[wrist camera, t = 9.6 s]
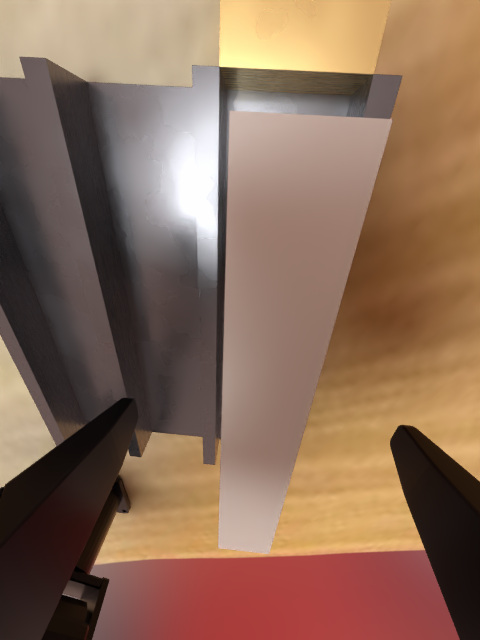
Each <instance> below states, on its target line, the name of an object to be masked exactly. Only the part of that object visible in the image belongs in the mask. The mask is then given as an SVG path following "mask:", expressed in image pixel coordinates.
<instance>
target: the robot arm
mask: <svg viewBox="0 0 480 640" xmlns="http://www.w3.org/2000/svg"><path fill="white" fill-rule="evenodd" d="M138 417H139V414H138V409H137V404H136V400H135V399H134V398H121V399H120V400H118V401H117V402H116V403H114V404H113V405H112V406H110V407H109V408H108V409H106V410H105V411H104V412H102V413H101V414H99V415H98V416H97V417H95V418H94V419H93V420H91V421H90V422H89V423H87V424H86V425H85V426H83V427H82V428H81V429H79V430H78V431H77V432H75V433H74V434H73V435H71V436H70V437H69V438H67V439H66V440H64V441H63V442H62V443H60V444H59V445H58V446H56V447H55V448H54V449H52V450H51V451H50V452H48V453H47V454H46V455H44V456H43V457H42V458H40V459H39V460H38V461H36V462H35V463H34V464H32V465H31V466H30V467H28V468H27V469H25V470H24V471H23V472H21V473H20V474H19V475H17V476H16V477H15V478H13V479H12V480H11V481H9V482H8V483H7V484H5V486H4V487H1V488H0V640H92V637H93V634H94V631H95V627H96V624H97V620H98V617H99V613H100V610H101V607H102V603H103V600H104V596H105V593H106V589H107V586H108V583H109V579H107V578H104V577H103V578H99V577H96V576H93V575H90V572H91V569H92V567H93V565H94V563H95V560H96V558H97V556H98V554H99V551H100V549H101V547H102V544H103V542H104V540H105V537H106V535H107V533H108V531H109V528H110V526H111V524H112V521H113V519H114V517H115V515H116V512H119V513H128V512H129V510H130V504H129V501H128V498H127V495H126V492H125V489H124V486H123V483H122V480H121V479H120V478H118V477H117V476H118V474H119V471H120V469H121V467H122V464H123V462H124V459H125V456H126V453H127V450H128V448H129V445H130V442H131V439H132V436H133V433H134V430H135V428H136V425H137V422H138ZM390 447H391V450H392V454H393V458H394V461H395V465H396V468H397V472H398V475H399V479H400V482H401V486H402V489H403V492H404V495H405V498H406V501H407V504H408V507H409V509H410V512H411V514H412V517H413V519H414V522H415V525H416V527H417V530H418V532H419V535H420V538H421V540H422V543H423V545H424V548H425V551H426V553H427V556H428V558H429V561H430V563H431V566H432V569H433V571H434V574H435V576H436V579H437V582H438V584H439V587H440V589H441V592H442V594H443V597H444V600H445V602H446V605H447V607H448V610H449V612H450V615H451V618H452V620H453V623H454V626H455V628H456V631H457V633H458V636H459V638H460V640H480V481H478V480H477V479H476V478H475V477H474V476H472V475H471V474H470V473H469V472H468V471H467V470H465V469H464V468H463V467H462V466H461V465H459V464H458V463H457V462H456V461H455V460H453V459H452V458H451V457H450V456H449V455H448V454H446V453H445V452H444V451H443V450H442V449H440V448H439V447H438V446H437V445H436V444H434V443H433V442H432V441H431V440H430V439H429V438H427V437H426V436H425V435H424V434H423V433H421V432H420V431H419V430H418V429H417V428H415V427H413V426H409V425H400V426H398V428H397V429H396V431H395V433H394V434H393V436H392V438H391V441H390ZM62 594H66V595H70V596H73V597H77V598H80V600H78V599H75V598H71V597H68V596H64V595H62Z"/></svg>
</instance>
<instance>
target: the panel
mask: <svg viewBox="0 0 480 640" xmlns="http://www.w3.org/2000/svg"><path fill="white" fill-rule="evenodd" d="M392 121H393V119H380V118H361V117H342V116H323V115H304V114H285V113H266V112H247V111H230V115H229V153H228V191H227V230H226V268H225V307H224V345H223V383H222V422H221V460H220V499H219V537H218V548H222V549H230V550H239V551H247V552H256V553H264V554H269V553H270V549H271V546H272V542H273V539H274V535H275V532H276V528H277V525H278V521H279V518H280V514H281V511H282V507H283V504H284V500H285V496H286V493H287V489H288V486H289V482H290V479H291V475H292V472H293V468H294V465H295V461H296V458H297V454H298V451H299V447H300V444H301V440H302V437H303V433H304V430H305V426H306V423H307V419H308V416H309V412H310V409H311V405H312V402H313V398H314V395H315V391H316V388H317V384H318V381H319V377H320V374H321V370H322V367H323V363H324V360H325V356H326V353H327V349H328V345H329V342H330V338H331V335H332V331H333V328H334V324H335V321H336V317H337V314H338V310H339V307H340V303H341V300H342V296H343V293H344V289H345V286H346V282H347V279H348V275H349V272H350V268H351V265H352V261H353V258H354V254H355V251H356V247H357V244H358V240H359V237H360V233H361V230H362V226H363V223H364V219H365V216H366V212H367V209H368V205H369V202H370V198H371V194H372V191H373V187H374V184H375V180H376V177H377V173H378V170H379V166H380V163H381V159H382V156H383V152H384V149H385V145H386V142H387V138H388V135H389V131H390V128H391V124H392Z"/></svg>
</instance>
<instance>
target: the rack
mask: <svg viewBox="0 0 480 640" xmlns="http://www.w3.org/2000/svg"><path fill="white" fill-rule="evenodd" d="M390 4H391V0H220V62H219V67H217V66H197V65H192V79H193V87H174V86H155V85H136V84H116V83H97V82H86V81H84V80H83V79H81V78H79V77H77V76H76V75H74V74H72V73H70V72H69V71H67V70H65V69H64V68H62V67H60V66H58V65H57V64H55V63H53V62H51V61H50V60H48V59H46V58H34V57H20V61H21V64H22V68H23V71H24V75H25V79H21V78H2V77H0V335H1V337H2V339H3V341H4V343H5V345H6V347H7V349H8V351H9V353H10V355H11V357H12V359H13V361H14V363H15V365H16V367H17V369H18V370H19V372H20V374H21V376H22V378H23V380H24V382H25V384H26V386H27V388H28V390H29V392H30V394H31V396H32V398H33V400H34V402H35V404H36V406H37V408H38V410H39V412H40V414H41V416H42V418H43V420H44V422H45V424H46V426H47V428H48V430H49V432H50V433H51V435H52V437H53V439H54V441H55V443H56V445H57V446H58V445H59V444H60V443H62V442H63V441H64V440H66V439H67V438H69V437H70V436H71V435H73V434H74V433H75V432H77V431H78V430H79V429H81V428H82V427H83V426H85V425H86V424H87V423H89V422H90V421H91V420H93V419H94V418H95V417H97V416H98V415H99V414H101V413H102V412H104V411H105V410H106V409H108V408H109V407H110V406H112V405H113V404H114V403H116V402H117V401H118V400H120V399H121V398H134V399H135V400H136V404H137V409H138V414H139V417H138V422H137V425H136V428H135V430H134V433H133V436H132V439H131V442H130V445H129V448H128V450H129V454H130V456H136V457H142V454H143V452H144V450H145V447H146V445H147V443H148V440H149V438H150V436H151V433H152V432H159V433H169V434H179V435H189V436H198V437H203V461H204V464H211V465H215V462H216V456H217V449H218V443H219V439H221V422H222V383H223V345H224V307H225V268H226V230H227V191H228V153H229V115H230V111H247V112H266V113H285V114H304V115H323V116H342V117H361V118H380V119H390V118H391V115H392V111H393V108H394V104H395V101H396V97H397V94H398V90H399V86H400V83H401V79H402V76H400V75H380V74H374V71H375V67H376V63H377V59H378V54H379V50H380V46H381V42H382V38H383V33H384V29H385V25H386V21H387V17H388V13H389V8H390Z"/></svg>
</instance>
